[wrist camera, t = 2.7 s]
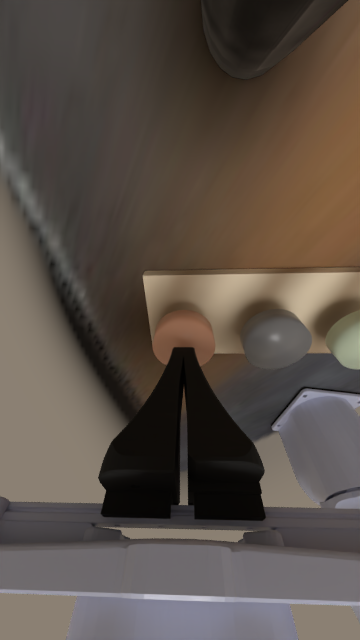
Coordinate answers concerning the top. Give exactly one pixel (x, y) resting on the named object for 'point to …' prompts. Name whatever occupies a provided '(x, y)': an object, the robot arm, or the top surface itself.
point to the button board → (255, 298)
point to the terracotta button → (184, 335)
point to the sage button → (346, 340)
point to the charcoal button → (275, 339)
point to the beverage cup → (260, 31)
